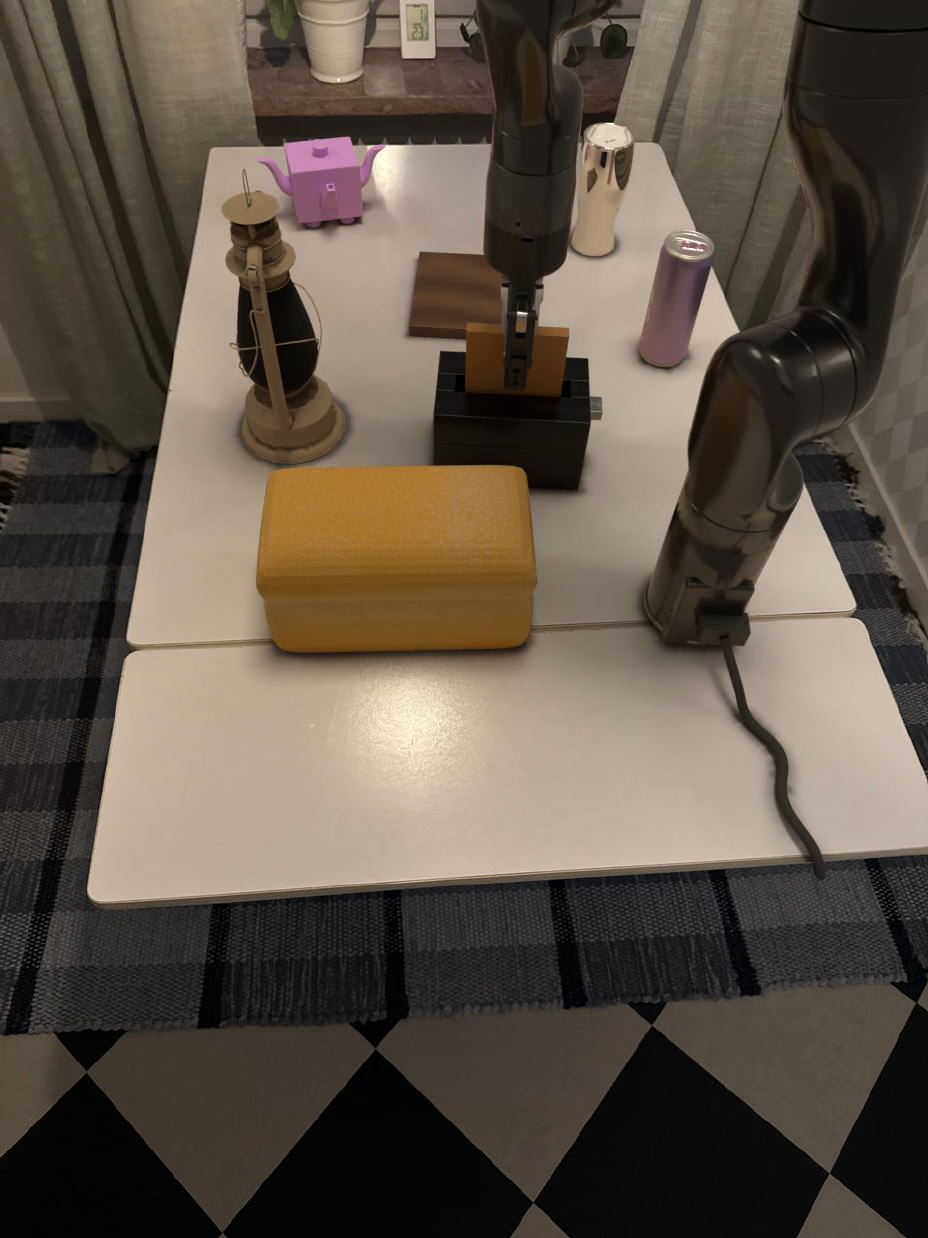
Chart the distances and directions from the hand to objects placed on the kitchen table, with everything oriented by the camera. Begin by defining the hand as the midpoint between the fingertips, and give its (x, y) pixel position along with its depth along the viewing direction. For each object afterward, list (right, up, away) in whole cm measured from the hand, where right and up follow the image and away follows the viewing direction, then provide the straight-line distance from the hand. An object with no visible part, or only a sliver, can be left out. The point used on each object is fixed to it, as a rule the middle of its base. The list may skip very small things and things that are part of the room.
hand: (515, 359), depth 86 cm
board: (-6, +16, +27) cm, 32 cm away
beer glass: (+13, +27, +34) cm, 45 cm away
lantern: (-25, -4, +13) cm, 28 cm away
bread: (-11, -24, 0) cm, 27 cm away
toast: (0, -4, +6) cm, 7 cm away
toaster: (0, -7, +11) cm, 13 cm away
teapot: (-25, +32, +37) cm, 55 cm away
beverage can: (+20, +7, +22) cm, 30 cm away
